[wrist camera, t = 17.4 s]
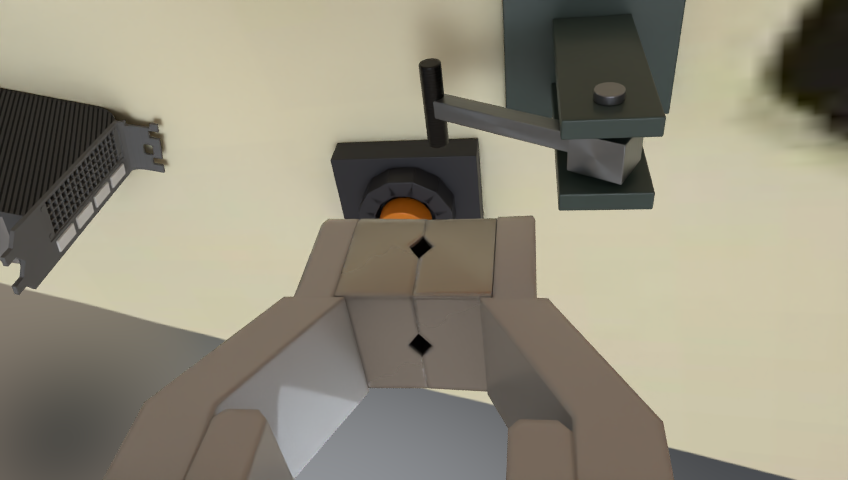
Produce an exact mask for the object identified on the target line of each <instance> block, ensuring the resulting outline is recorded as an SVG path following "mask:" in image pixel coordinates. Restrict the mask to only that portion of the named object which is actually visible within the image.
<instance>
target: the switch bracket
mask: <svg viewBox="0 0 848 480" xmlns="http://www.w3.org/2000/svg"><path fill="white" fill-rule="evenodd" d="M685 1H686V0H503V24H504V55H505V86H506V108H509V109H513V110H518V111H522V112H526V113H531V114H535V115H539V116H544V117H548V118H553V119H557V120H559V125H560V137H561V140H570V139H601V138H632V137H662V136H663V134H664V127H665V120H666V116H665V114H668V113H669V109H670V102H671V95H672V89H673V82H674V75H675V68H676V62H677V55H678V48H679V42H680V35H681V28H682V21H683V15H684V8H685ZM555 163H556V178H557V193H558V208H559V210H560V211H561V210H627V209H652V208H653V202H654V195H655V192H654V188H653V184H652V180H651V176H650V173H649V169H648V165H647V161H646V157H645V153H644V149H643V145H642V153H641V160H640V161H639V162H638V164H637V165H636V166H635V168H634V169H633V170H632V172H631V173H630V174H629V176H628V177H627V178H626V179H625V181H624V182H623V183H622V185H619V184H616V183H612V182H608V181H605V180H601V179H597V178H594V177H590V176H586V175H582V174H579V173H575V172H571V171H568V170H567V152H565V151H561V150H557V149H555Z"/></svg>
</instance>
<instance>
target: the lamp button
mask: <svg viewBox="0 0 848 480" xmlns="http://www.w3.org/2000/svg"><path fill="white" fill-rule="evenodd" d="M380 219H428V220H432V215H431V213H430V211H429V209H428V208H427V207H426V206H425V205H424V204H423V203H421V202H420V201H418V200H415V199H412V198H406V197H402V198H396V199H393V200H391V201H389V202H388V203H387V204H386V205H385V206H384V207H383V209H382V211H381V215H380Z"/></svg>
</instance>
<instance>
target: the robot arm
mask: <svg viewBox="0 0 848 480" xmlns="http://www.w3.org/2000/svg"><path fill="white" fill-rule="evenodd" d="M368 388H434V389H452V390H470V391H488V396H489V397H490V399H491V401H492V402H493V404H494V406H495V407H496V409H497V410H498V412H499V414H500V415H501V417H502V419H503V420H504V422H505V424H506V426H507V427H508V448H507V472H506V480H674V477H673V472H672V467H671V461H670V456H669V451H668V446H667V440H666V435H665V430H664V424H663V421H662V420H661V419H660V418H659V417H658V416H657V415H656V414H655V413H654V412H653V411H652V410H651V408H650V407H649V406H648V405H647V404H646V403H645V402H644V401H643V400H642V399H641V398H640V397H639V396H638V395H637V393H636V392H635V391H634V390H633V389H632V388H631V387H630V386H629V385H628V384H627V383H626V382H625V381H624V380H623V378H622V377H621V376H620V375H619V374H618V373H617V372H616V371H615V370H614V369H613V368H612V367H611V366H610V364H609V363H608V362H607V361H606V360H605V359H604V358H603V357H602V356H601V355H600V354H599V353H598V352H597V351H596V349H595V348H594V347H593V346H592V345H591V344H590V343H589V342H588V341H587V340H586V339H585V338H584V337H583V336H582V334H581V333H580V332H579V331H578V330H577V329H576V328H575V327H574V326H573V325H572V324H571V323H570V322H569V321H568V319H567V318H566V317H565V316H564V315H563V314H562V313H561V312H560V311H559V310H558V309H557V308H556V307H555V306H554V304H553V303H552V302H551V301H550V300H549V299H548V298H537V291H536V240H535V219H534V217H533V216H514V217H498V219H497V218H486V219H434V220H428V219H361V220H359V219H328V220H326V221H325V222H324V223H323V224H322V225H321V228H320V230H319V233H318V236H317V238H316V241H315V243H314V246H313V249H312V251H311V254H310V256H309V259H308V262H307V264H306V267H305V269H304V272H303V275H302V277H301V280H300V282H299V285H298V288H297V290H296V293H295V295H294V297H283V298H282V299H280V300H279V301H278V302H276V303H275V304H274V305H272V306H271V307H270V308H269V309H267V310H266V311H265V312H263V313H262V314H261V315H259V316H258V317H257V318H255V319H254V320H253V321H251V322H250V323H249V324H247V325H246V326H245V327H243V328H242V329H241V330H239V331H238V332H237V333H235V334H234V335H233V336H231V337H230V338H229V339H227V340H226V341H225V342H224V343H222V344H221V345H220V346H218V347H217V348H216V349H214V350H213V351H212V352H210V353H209V354H208V355H206V356H205V357H204V358H202V359H201V360H200V361H198V362H197V363H196V364H194V365H193V366H192V367H190V368H189V369H188V370H187V371H185V372H184V373H182V374H181V375H180V376H179V377H177V378H176V379H174V380H173V381H172V382H171V383H169V384H168V385H167V386H166V387H164V388H163V389H161V390H160V391H159V392H157V393H156V394H155V395H153V396H152V397H151V398H149V399H148V400H147V401H145V402H144V404H143V406H142V407H141V409H140V411H139V413H138V415H137V417H136V418H135V420H134V422H133V424H132V426H131V428H130V430H129V431H128V433H127V435H126V437H125V439H124V441H123V443H122V444H121V446H120V448H119V450H118V452H117V454H116V456H115V457H114V459H113V461H112V463H111V465H110V467H109V468H108V470H107V472H106V474H105V476H104V478H103V480H294V479H295V478H296V476H297V475H298V474H299V473H300V472H301V471H302V469H303V468H304V467H305V466H306V465H307V464H308V463H309V461H310V460H311V459H312V458H313V457H314V455H315V454H316V453H317V452H318V451H319V450H320V448H321V447H322V446H323V445H324V444H325V443H326V441H327V440H328V439H329V438H330V437H331V436H332V434H333V433H334V432H335V431H336V430H337V429H338V427H339V426H340V425H341V424H342V423H343V422H344V420H345V419H346V418H347V417H348V416H349V414H350V413H351V412H352V411H353V410H354V409H355V407H356V406H357V405H358V404H359V403H360V402H361V401H362V399H363V398H364V397H365V396H366V394H367V393H368V392H369V389H368Z"/></svg>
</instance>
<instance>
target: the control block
mask: <svg viewBox="0 0 848 480" xmlns="http://www.w3.org/2000/svg"><path fill="white" fill-rule="evenodd" d="M331 164H332V168H333V172H334V177H335V181H336V185H337V189H338V193H339V197H340V201H341V206H342V210H343V214H344V218H345V219H359V220H361V219H380V215H381V211H382V209H383V207H384V206H385V205H386V204H387V203H388V202H389V201H391V200H393V199H396V198H402V197H406V198H412V199H415V200H418V201H420V202H421V203H423V204H424V205H425V206H426V207H427V208H428V209H429V211H430V213H431V215H432V220H434V219H483V203H482V188H481V173H480V158H479V142H478V139H450V140H449V143H448V144H447V145H446V146H445V147H442V148H432V147H430V146H429V144H428V140H420V141H390V142H360V143H338V144H337V146H336V148H335V151H334V153H333V155H332V158H331Z"/></svg>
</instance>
